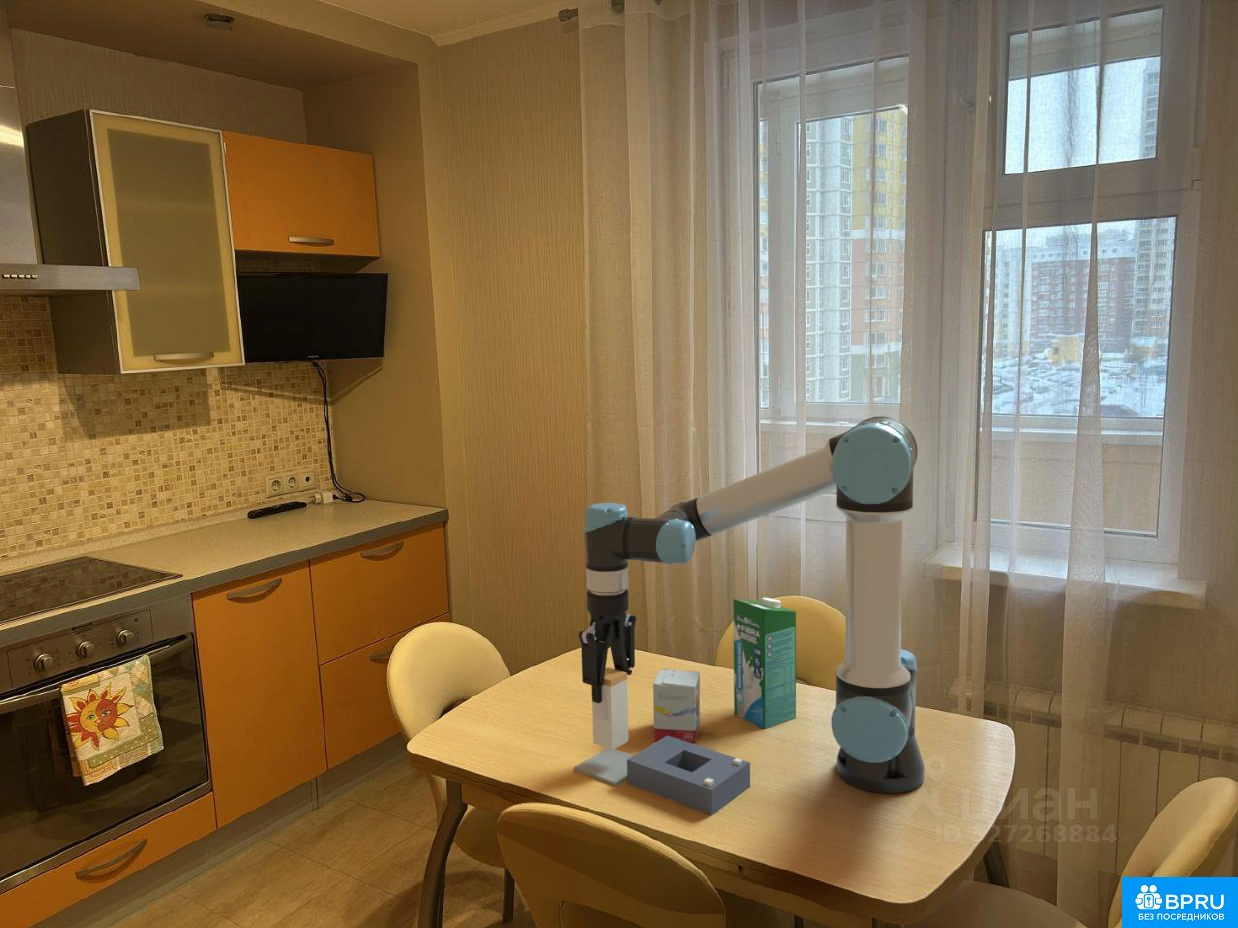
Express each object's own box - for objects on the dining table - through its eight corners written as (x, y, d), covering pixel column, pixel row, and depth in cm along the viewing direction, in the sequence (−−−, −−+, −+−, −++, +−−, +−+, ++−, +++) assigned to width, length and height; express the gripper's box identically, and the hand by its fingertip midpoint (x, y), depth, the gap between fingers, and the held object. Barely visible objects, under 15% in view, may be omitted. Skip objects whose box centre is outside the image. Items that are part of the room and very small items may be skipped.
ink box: (696, 743, 177) (695, 685, 176) (652, 740, 179) (651, 683, 177) (701, 724, 186) (700, 669, 184) (659, 722, 188) (658, 667, 186)
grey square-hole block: (750, 786, 160) (749, 759, 160) (711, 815, 151) (711, 786, 150) (667, 757, 172) (667, 732, 171) (627, 783, 163) (626, 756, 162)
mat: (650, 764, 169) (650, 761, 169) (616, 785, 162) (615, 782, 162) (609, 749, 176) (609, 746, 176) (574, 769, 168) (574, 766, 168)
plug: (628, 741, 168) (626, 672, 166) (612, 750, 165) (610, 680, 163) (609, 734, 171) (607, 667, 169) (593, 743, 168) (591, 674, 166)
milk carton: (796, 717, 188) (796, 600, 184) (763, 729, 183) (763, 608, 179) (765, 703, 195) (765, 590, 192) (733, 714, 190) (732, 598, 187)
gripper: (622, 575, 173) (624, 692, 176) (558, 597, 159) (562, 724, 163) (654, 581, 168) (655, 702, 172) (590, 605, 155) (593, 735, 158)
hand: (610, 712), depth 167 cm, fingers closed on plug, 5 cm apart
